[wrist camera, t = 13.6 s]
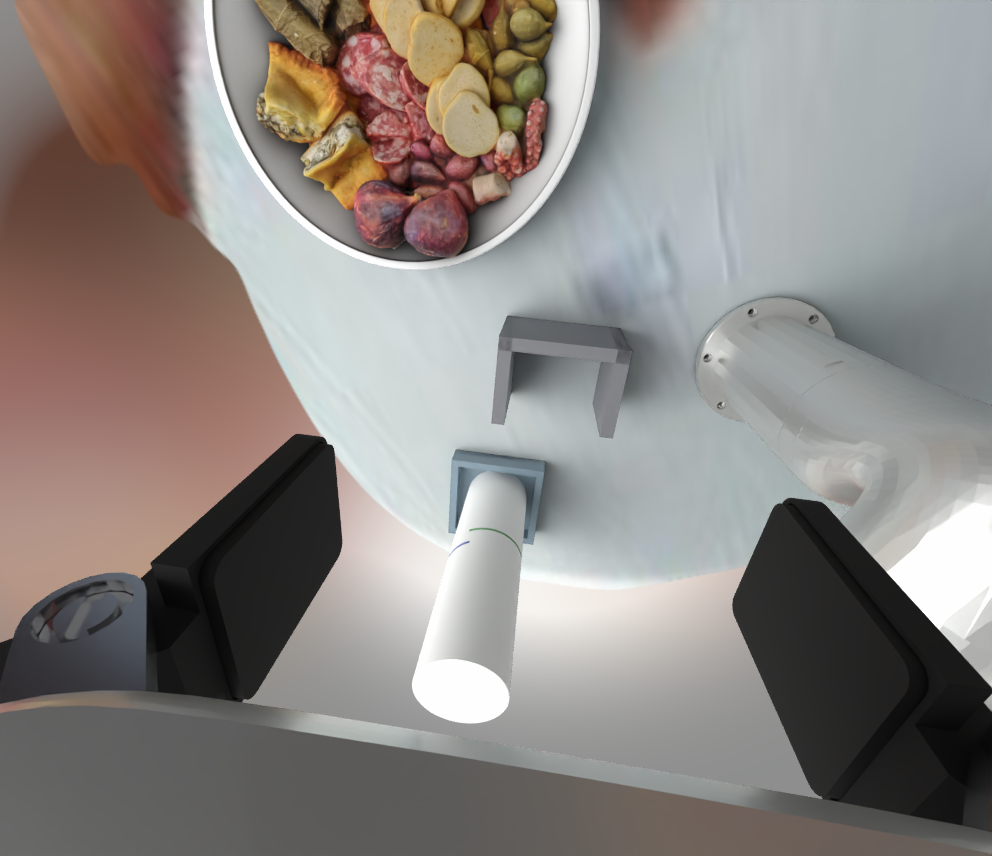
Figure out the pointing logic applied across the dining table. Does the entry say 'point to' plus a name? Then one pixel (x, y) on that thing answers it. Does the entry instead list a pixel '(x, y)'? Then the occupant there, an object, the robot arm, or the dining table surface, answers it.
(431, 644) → the cylindrical container
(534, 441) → the dining table surface
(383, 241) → the bowl
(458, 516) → the tray
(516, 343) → the bay
